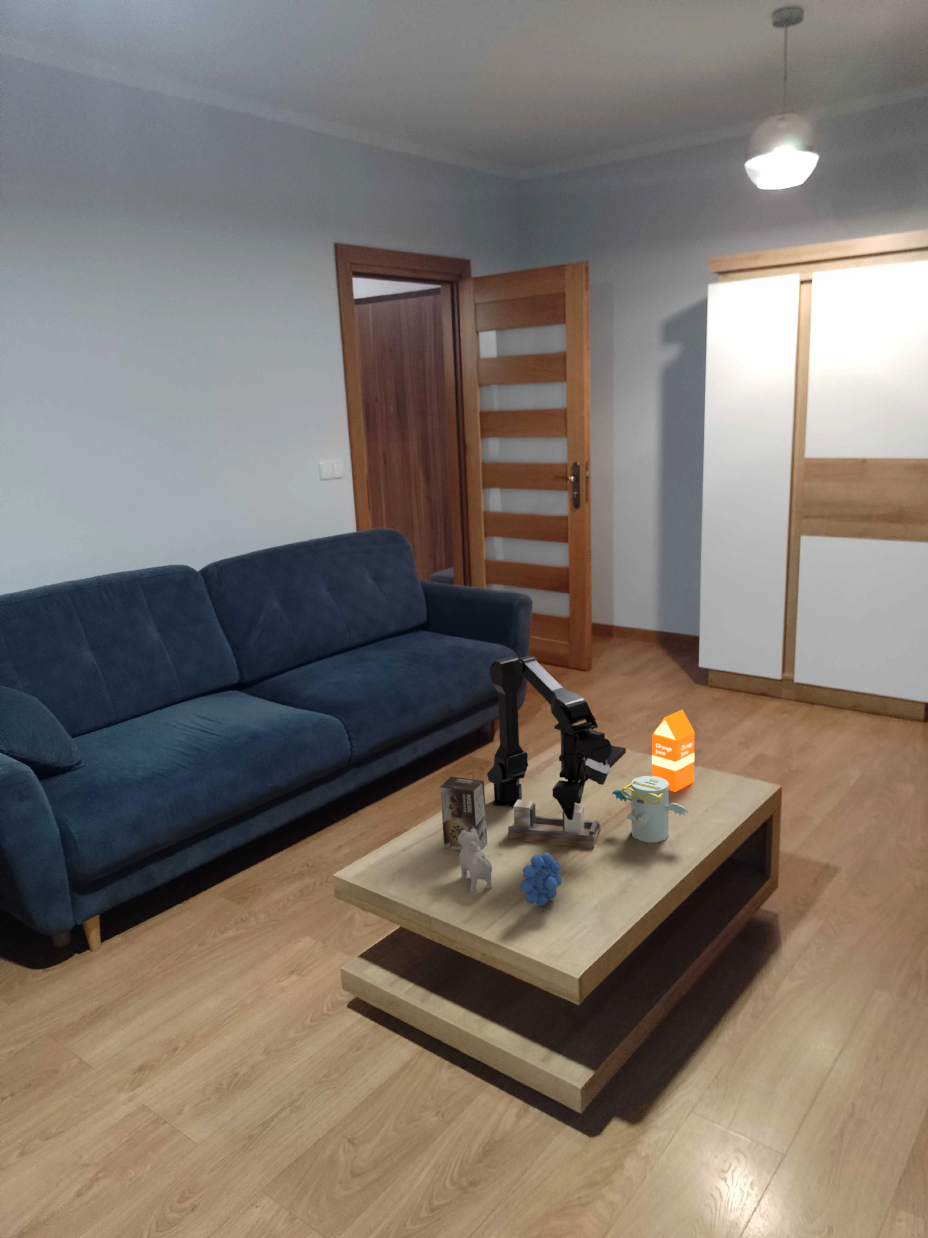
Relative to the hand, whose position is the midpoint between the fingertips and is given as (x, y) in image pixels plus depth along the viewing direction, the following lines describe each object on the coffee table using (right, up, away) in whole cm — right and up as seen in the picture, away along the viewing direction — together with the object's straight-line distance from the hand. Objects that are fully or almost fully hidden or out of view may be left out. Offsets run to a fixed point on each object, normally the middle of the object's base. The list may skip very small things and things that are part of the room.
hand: (574, 811), depth 219 cm
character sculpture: (+18, -6, 0) cm, 19 cm away
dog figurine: (-24, -12, -16) cm, 31 cm away
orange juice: (+31, +1, +29) cm, 42 cm away
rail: (-4, -6, +3) cm, 9 cm away
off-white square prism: (0, -5, +1) cm, 5 cm away
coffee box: (-26, -8, 0) cm, 27 cm away
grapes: (-9, -14, -28) cm, 33 cm away
